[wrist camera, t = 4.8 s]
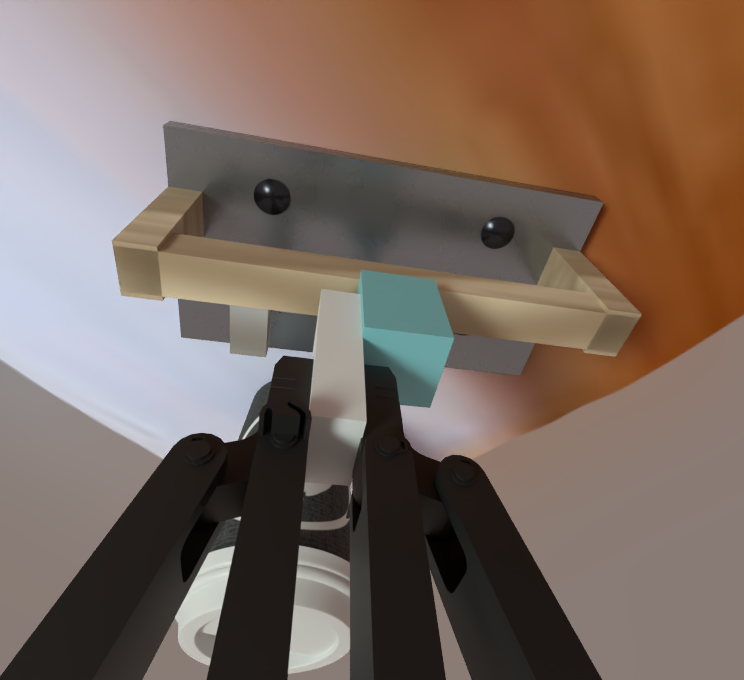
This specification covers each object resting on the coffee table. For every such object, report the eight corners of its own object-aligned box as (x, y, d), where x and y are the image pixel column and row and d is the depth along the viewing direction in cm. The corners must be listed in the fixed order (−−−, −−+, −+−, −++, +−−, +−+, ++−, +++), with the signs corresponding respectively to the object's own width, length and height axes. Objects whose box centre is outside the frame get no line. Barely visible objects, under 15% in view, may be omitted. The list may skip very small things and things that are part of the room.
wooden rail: (168, 186, 22) (112, 240, 17) (579, 251, 25) (642, 314, 20) (176, 279, 25) (130, 350, 20) (543, 327, 28) (588, 399, 23)
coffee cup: (201, 397, 31) (110, 637, 19) (310, 335, 29) (283, 568, 17) (287, 468, 36) (257, 694, 24) (387, 420, 34) (409, 648, 22)
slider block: (358, 210, 23) (364, 326, 14) (415, 219, 23) (454, 338, 15) (342, 303, 26) (340, 444, 17) (393, 310, 26) (414, 450, 18)
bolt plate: (170, 121, 21) (162, 125, 20) (595, 196, 24) (604, 203, 23) (186, 328, 28) (180, 338, 27) (515, 366, 31) (520, 376, 30)
